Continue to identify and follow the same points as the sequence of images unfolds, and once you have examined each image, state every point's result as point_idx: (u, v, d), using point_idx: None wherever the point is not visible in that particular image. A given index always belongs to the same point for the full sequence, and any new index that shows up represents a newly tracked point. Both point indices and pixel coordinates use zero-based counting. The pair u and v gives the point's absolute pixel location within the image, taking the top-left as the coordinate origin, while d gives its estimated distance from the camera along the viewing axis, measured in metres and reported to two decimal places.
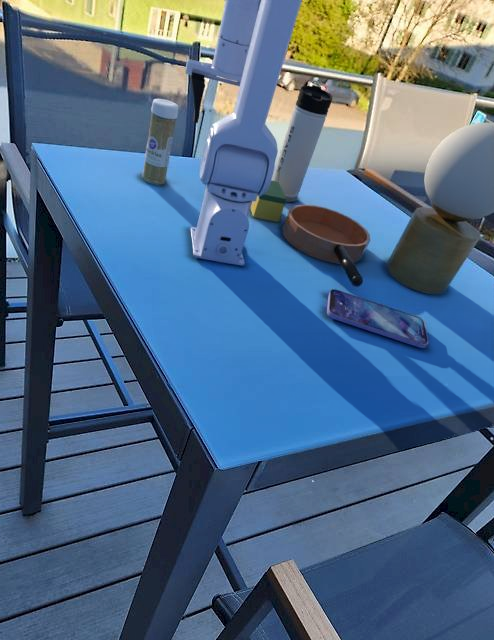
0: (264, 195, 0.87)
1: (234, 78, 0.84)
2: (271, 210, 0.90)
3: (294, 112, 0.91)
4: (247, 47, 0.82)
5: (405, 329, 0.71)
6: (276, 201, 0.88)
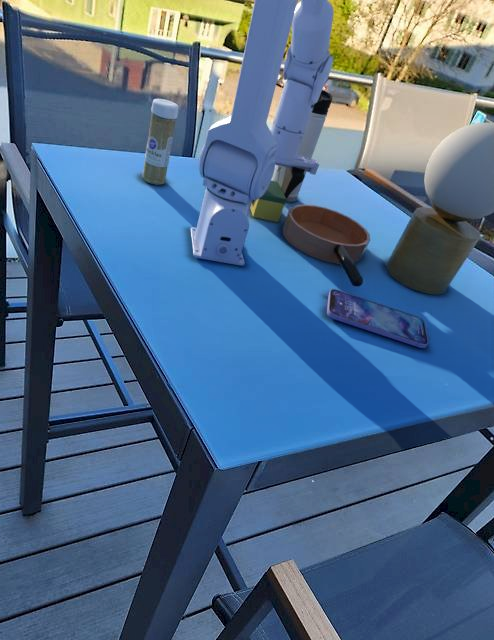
0: (264, 195, 0.87)
1: (288, 163, 0.85)
2: (271, 210, 0.90)
3: None
4: (302, 134, 0.83)
5: (405, 329, 0.71)
6: (276, 201, 0.88)
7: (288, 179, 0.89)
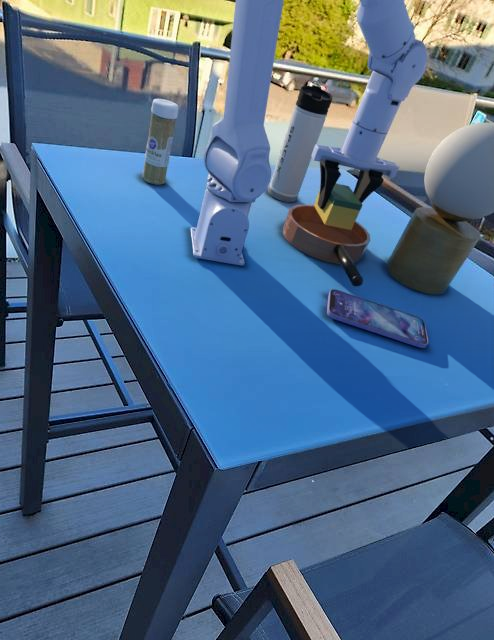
0: (339, 201, 0.80)
1: (367, 166, 0.78)
2: (345, 217, 0.82)
3: (294, 112, 0.91)
4: (385, 135, 0.75)
5: (405, 329, 0.71)
6: (351, 207, 0.81)
7: (364, 183, 0.81)
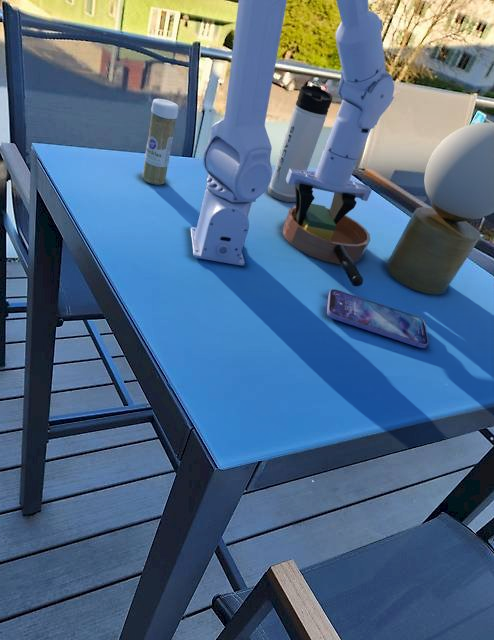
0: (313, 222, 0.82)
1: (340, 190, 0.80)
2: None
3: (294, 112, 0.91)
4: (356, 160, 0.78)
5: (405, 329, 0.71)
6: (325, 228, 0.83)
7: (338, 206, 0.84)
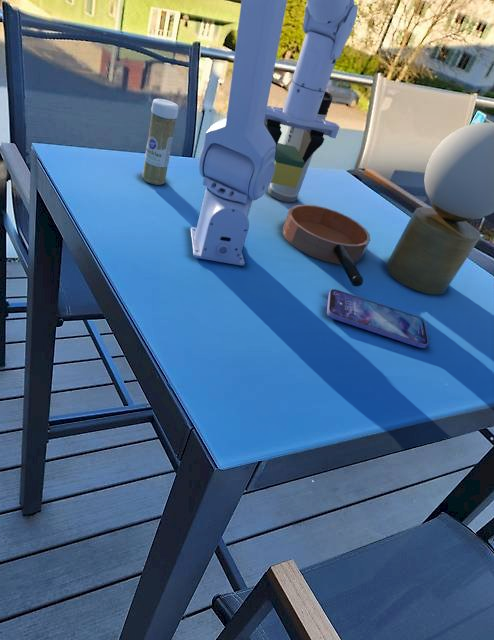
0: (281, 158, 0.83)
1: (307, 124, 0.80)
2: (288, 175, 0.85)
3: None
4: (322, 93, 0.78)
5: (405, 329, 0.71)
6: (294, 165, 0.84)
7: (306, 143, 0.84)
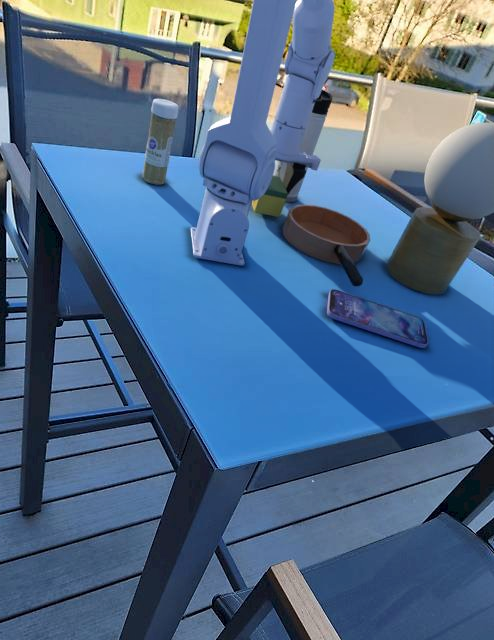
0: None
1: (289, 159, 0.85)
2: (272, 205, 0.89)
3: None
4: (303, 130, 0.82)
5: (405, 329, 0.71)
6: (277, 196, 0.88)
7: (289, 175, 0.88)
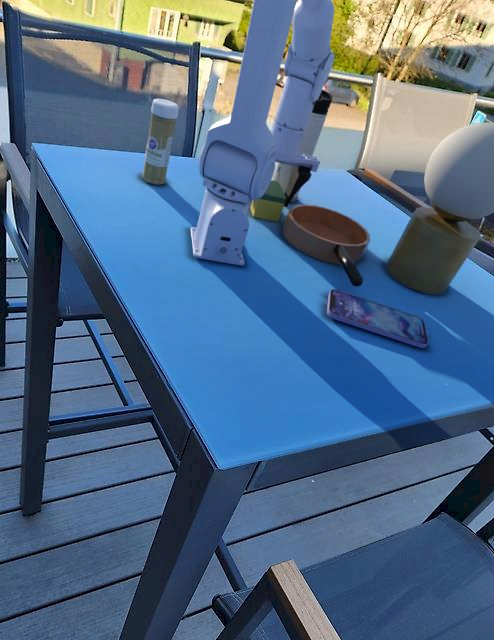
0: (264, 195, 0.88)
1: (289, 160, 0.85)
2: (271, 210, 0.90)
3: None
4: (303, 131, 0.83)
5: (405, 329, 0.71)
6: (276, 201, 0.88)
7: (295, 178, 0.89)
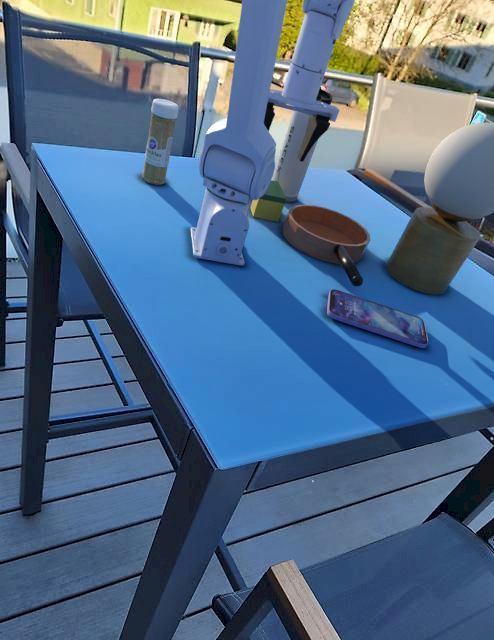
0: (264, 195, 0.88)
1: (306, 107, 0.79)
2: (271, 210, 0.90)
3: (294, 112, 0.91)
4: (322, 74, 0.77)
5: (405, 329, 0.71)
6: (276, 201, 0.88)
7: (312, 128, 0.83)
